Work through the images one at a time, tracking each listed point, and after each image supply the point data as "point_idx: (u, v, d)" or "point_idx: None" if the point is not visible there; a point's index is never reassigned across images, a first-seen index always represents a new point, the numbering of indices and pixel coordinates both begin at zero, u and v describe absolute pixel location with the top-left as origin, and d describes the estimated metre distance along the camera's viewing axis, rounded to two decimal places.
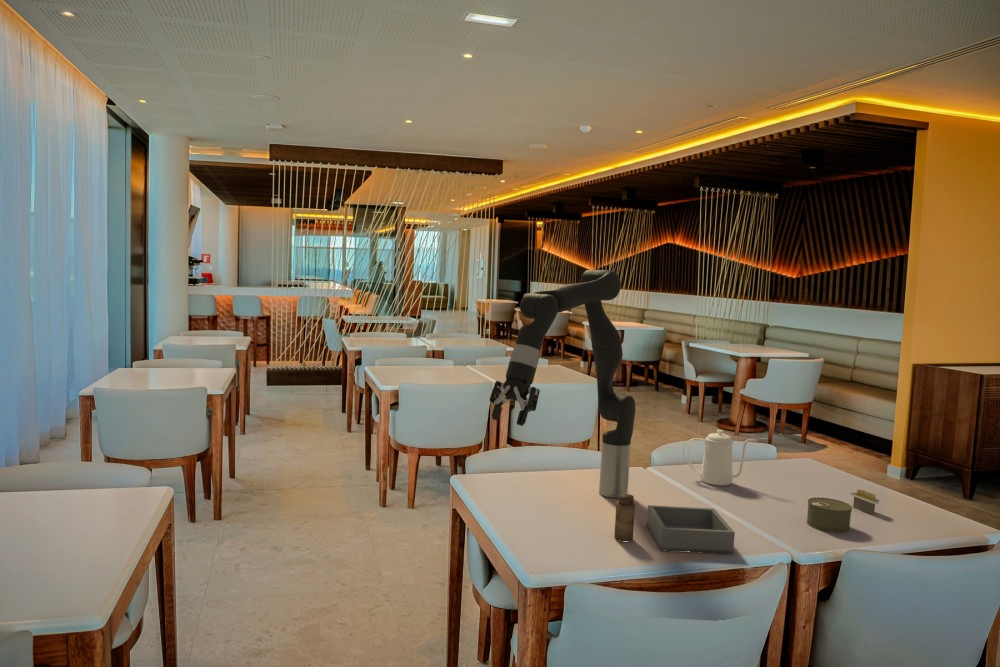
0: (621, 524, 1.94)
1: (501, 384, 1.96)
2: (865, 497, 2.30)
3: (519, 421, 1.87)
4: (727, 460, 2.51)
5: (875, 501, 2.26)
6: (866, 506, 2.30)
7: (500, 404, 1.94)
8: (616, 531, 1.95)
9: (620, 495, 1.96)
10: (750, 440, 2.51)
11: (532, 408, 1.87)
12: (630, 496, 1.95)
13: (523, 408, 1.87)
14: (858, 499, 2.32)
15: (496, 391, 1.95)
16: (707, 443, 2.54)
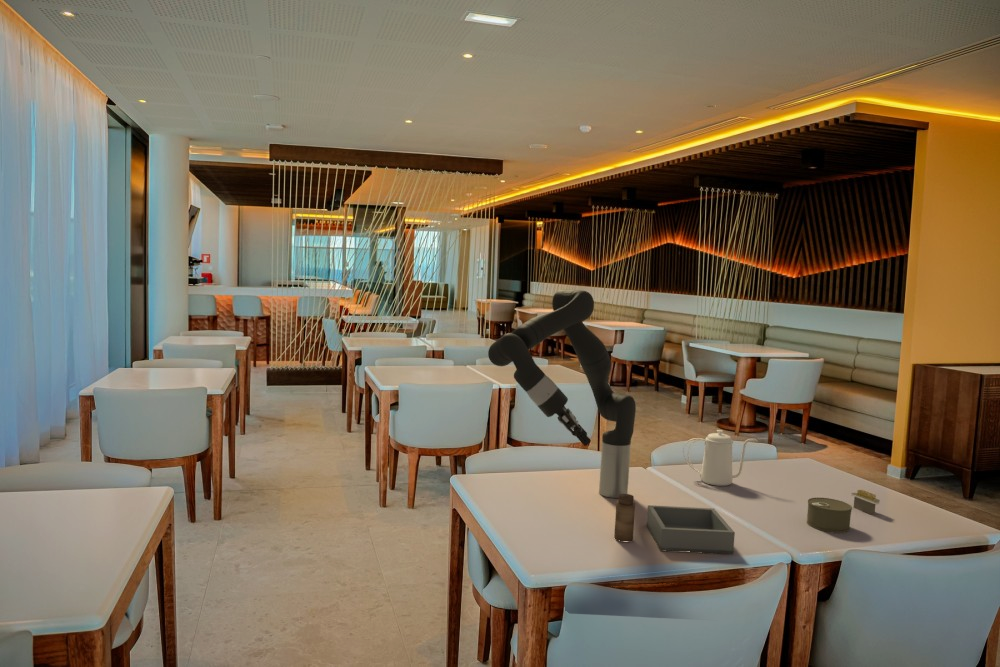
0: (621, 524, 1.94)
1: None
2: (865, 497, 2.30)
3: (583, 443, 1.90)
4: (727, 460, 2.51)
5: (875, 501, 2.26)
6: (866, 507, 2.29)
7: None
8: (616, 531, 1.95)
9: (620, 495, 1.96)
10: (750, 440, 2.51)
11: (576, 432, 1.87)
12: (630, 496, 1.95)
13: (574, 435, 1.89)
14: (858, 499, 2.32)
15: None
16: (707, 443, 2.54)
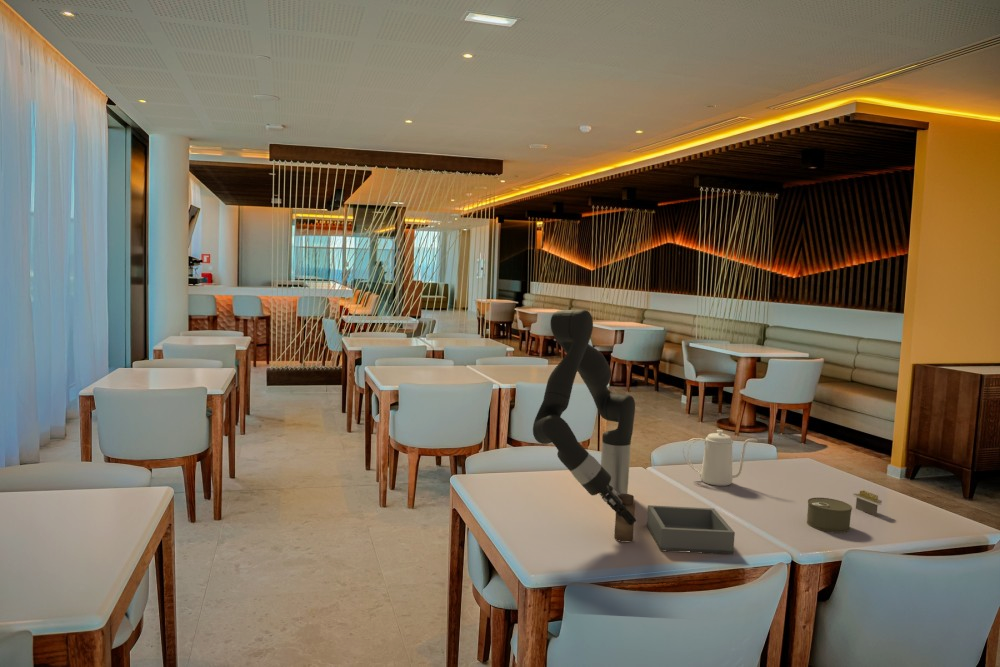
0: (621, 524, 1.94)
1: None
2: (868, 498, 2.29)
3: (629, 523, 1.93)
4: (727, 460, 2.51)
5: (878, 502, 2.25)
6: (868, 507, 2.29)
7: None
8: (616, 531, 1.95)
9: (620, 495, 1.96)
10: (750, 440, 2.51)
11: (622, 513, 1.90)
12: (630, 496, 1.95)
13: None
14: (861, 500, 2.31)
15: None
16: (707, 443, 2.54)
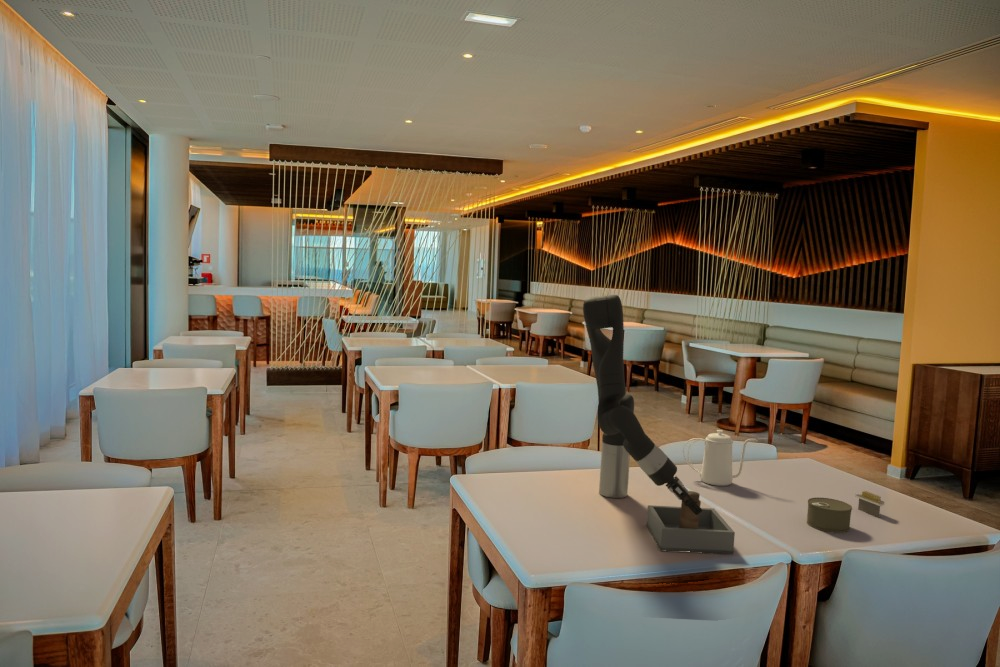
0: (687, 521, 1.96)
1: None
2: (870, 499, 2.28)
3: (695, 513, 1.94)
4: (727, 460, 2.51)
5: (880, 503, 2.25)
6: (871, 508, 2.28)
7: None
8: None
9: None
10: (750, 440, 2.51)
11: (689, 503, 1.91)
12: (696, 493, 1.97)
13: None
14: (863, 501, 2.31)
15: None
16: (707, 443, 2.54)
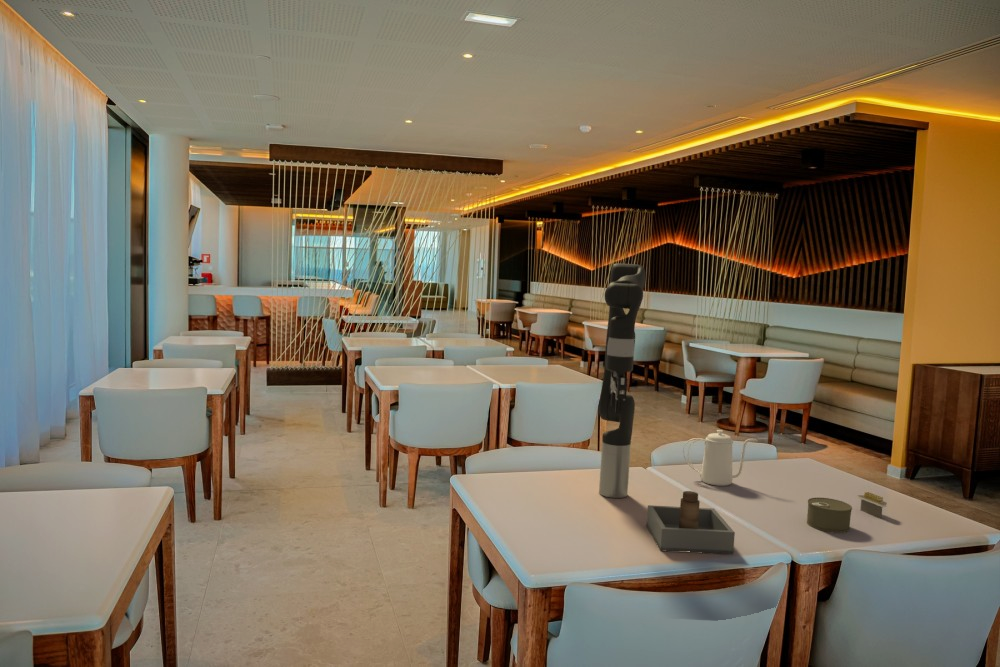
0: (686, 522, 1.96)
1: None
2: (872, 500, 2.27)
3: (616, 410, 2.01)
4: (727, 460, 2.51)
5: (882, 504, 2.24)
6: (873, 509, 2.27)
7: None
8: None
9: (684, 492, 1.98)
10: (750, 440, 2.51)
11: (621, 397, 1.98)
12: (694, 493, 1.97)
13: (616, 398, 2.00)
14: (865, 502, 2.30)
15: None
16: (707, 443, 2.54)
